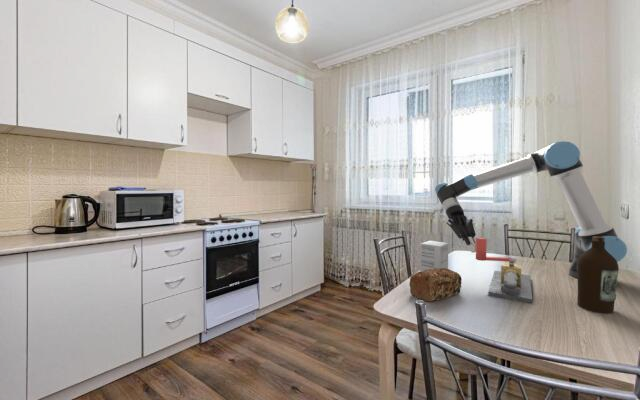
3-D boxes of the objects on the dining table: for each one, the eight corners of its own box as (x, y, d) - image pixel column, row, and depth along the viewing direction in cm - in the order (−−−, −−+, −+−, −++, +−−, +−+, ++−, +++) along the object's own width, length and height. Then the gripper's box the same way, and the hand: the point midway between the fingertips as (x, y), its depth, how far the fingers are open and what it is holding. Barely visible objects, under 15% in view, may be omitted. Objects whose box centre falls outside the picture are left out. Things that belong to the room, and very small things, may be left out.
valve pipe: (494, 273, 147) (495, 251, 146) (529, 278, 139) (530, 255, 138) (488, 295, 118) (489, 268, 118) (532, 303, 111) (533, 274, 110)
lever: (513, 259, 130) (514, 238, 129) (517, 262, 126) (518, 240, 125) (474, 258, 132) (474, 237, 132) (477, 260, 128) (478, 239, 128)
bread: (429, 304, 110) (430, 277, 110) (407, 294, 119) (408, 269, 119) (462, 294, 119) (463, 269, 119) (440, 286, 129) (440, 263, 128)
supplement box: (428, 275, 144) (429, 240, 143) (448, 279, 138) (449, 242, 137) (419, 280, 137) (419, 243, 136) (439, 284, 131) (440, 246, 130)
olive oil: (567, 303, 110) (570, 235, 109) (590, 300, 113) (593, 234, 111) (600, 315, 100) (604, 240, 99) (624, 312, 102) (628, 239, 101)
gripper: (461, 214, 152) (483, 254, 137) (437, 214, 150) (457, 255, 134) (468, 204, 147) (492, 245, 131) (444, 204, 144) (466, 246, 129)
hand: (474, 250), depth 133 cm, fingers closed
